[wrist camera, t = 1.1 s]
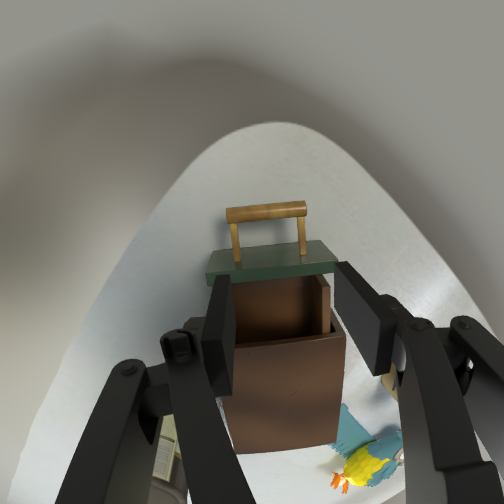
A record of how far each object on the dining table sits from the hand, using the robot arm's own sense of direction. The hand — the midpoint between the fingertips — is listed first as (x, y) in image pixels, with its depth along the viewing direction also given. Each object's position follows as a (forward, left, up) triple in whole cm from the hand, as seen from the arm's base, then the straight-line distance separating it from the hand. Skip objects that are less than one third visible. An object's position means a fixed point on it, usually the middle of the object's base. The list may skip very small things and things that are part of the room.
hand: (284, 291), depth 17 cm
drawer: (+7, 0, -16) cm, 17 cm away
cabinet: (+17, 0, -17) cm, 24 cm away
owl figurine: (+40, +15, -17) cm, 46 cm away
